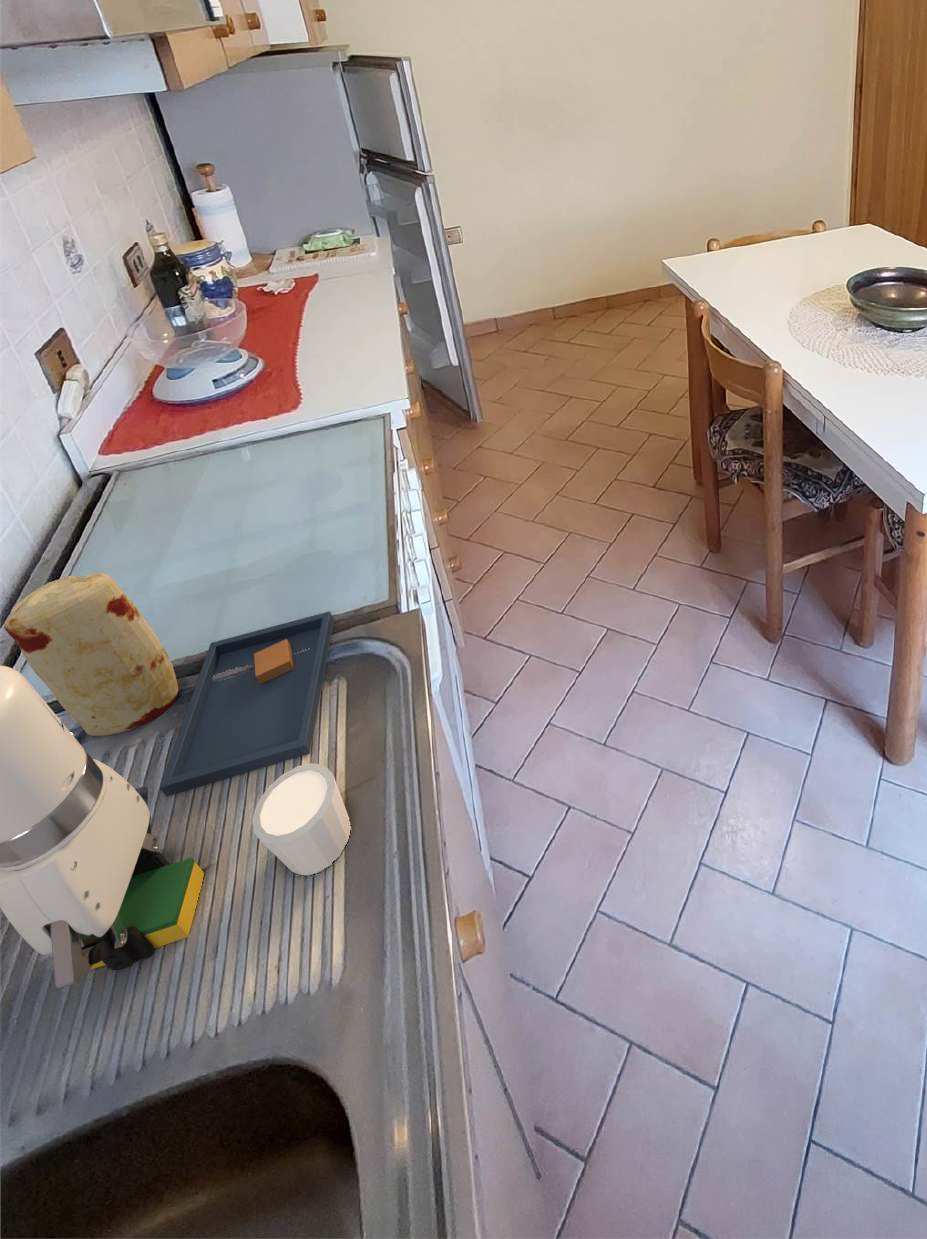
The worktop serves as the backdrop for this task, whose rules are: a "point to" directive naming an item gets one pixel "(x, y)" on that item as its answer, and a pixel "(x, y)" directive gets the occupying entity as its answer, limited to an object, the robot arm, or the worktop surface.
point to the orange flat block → (273, 661)
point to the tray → (250, 707)
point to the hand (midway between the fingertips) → (145, 918)
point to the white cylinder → (303, 819)
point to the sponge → (162, 902)
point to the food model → (94, 653)
